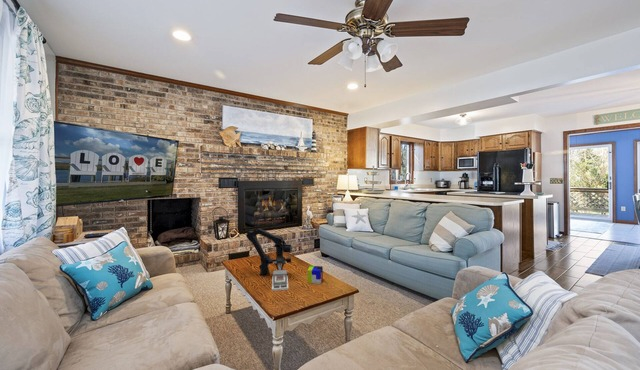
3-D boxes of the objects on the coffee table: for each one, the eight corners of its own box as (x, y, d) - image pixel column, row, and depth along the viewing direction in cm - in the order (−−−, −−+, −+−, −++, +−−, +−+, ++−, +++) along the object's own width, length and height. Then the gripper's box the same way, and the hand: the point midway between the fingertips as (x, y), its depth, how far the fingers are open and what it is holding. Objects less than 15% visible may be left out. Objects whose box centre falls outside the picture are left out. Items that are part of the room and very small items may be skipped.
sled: (283, 279, 208) (283, 269, 208) (276, 280, 207) (275, 270, 207) (283, 272, 224) (283, 263, 223) (276, 272, 223) (276, 263, 222)
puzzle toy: (320, 283, 205) (320, 271, 204) (307, 282, 207) (307, 270, 206) (322, 278, 214) (322, 266, 214) (310, 277, 216) (310, 265, 216)
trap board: (288, 289, 195) (288, 287, 195) (271, 290, 193) (271, 288, 193) (287, 276, 218) (287, 275, 218) (272, 278, 217) (272, 276, 216)
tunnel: (286, 284, 200) (286, 273, 200) (273, 285, 198) (273, 274, 198) (286, 280, 207) (286, 270, 206) (273, 281, 205) (273, 270, 205)
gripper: (267, 255, 212) (268, 275, 212) (291, 254, 214) (291, 273, 215) (268, 251, 223) (268, 270, 223) (290, 250, 225) (291, 268, 226)
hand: (279, 270), depth 222 cm, fingers closed on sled, 2 cm apart
